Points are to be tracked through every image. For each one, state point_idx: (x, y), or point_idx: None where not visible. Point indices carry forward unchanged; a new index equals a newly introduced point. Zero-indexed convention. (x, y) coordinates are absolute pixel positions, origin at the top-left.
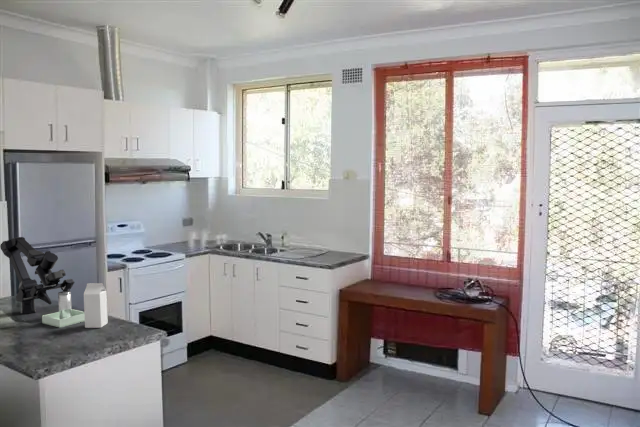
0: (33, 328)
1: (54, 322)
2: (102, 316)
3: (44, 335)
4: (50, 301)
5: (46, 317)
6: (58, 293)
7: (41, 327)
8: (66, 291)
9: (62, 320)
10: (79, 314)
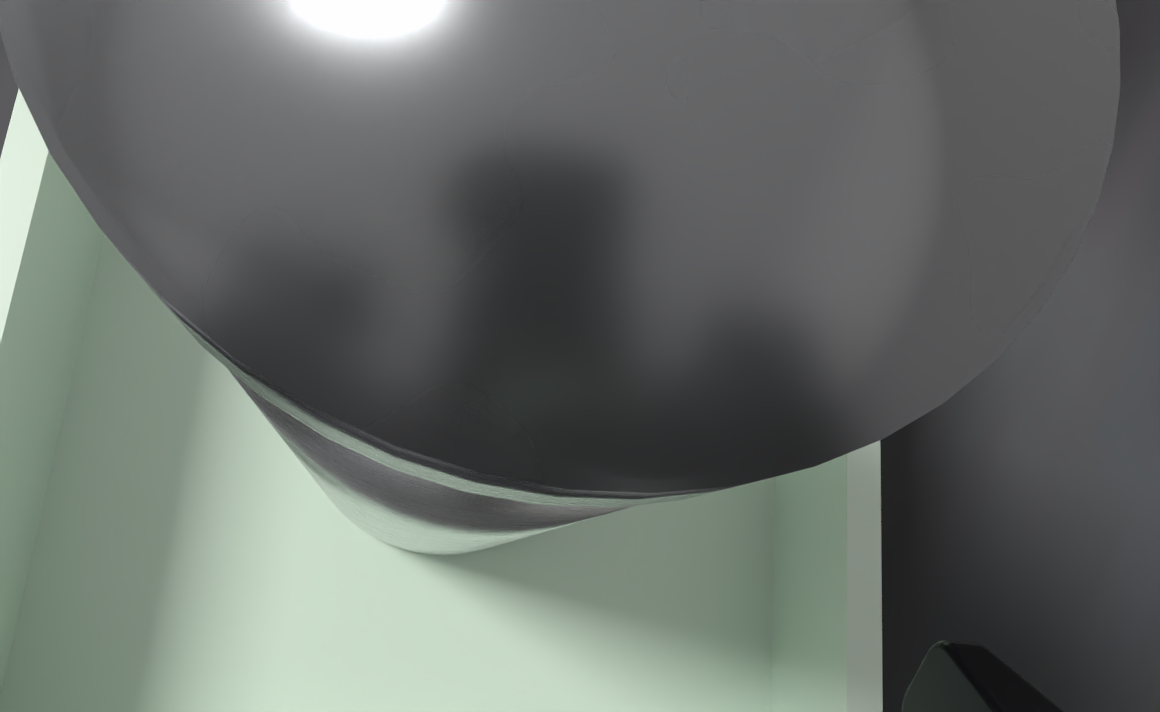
0: (1083, 588)
1: None
2: None
3: (1154, 24)
4: (1016, 704)
5: (871, 632)
6: (1106, 96)
7: (965, 503)
8: (248, 21)
9: None
10: (56, 304)
